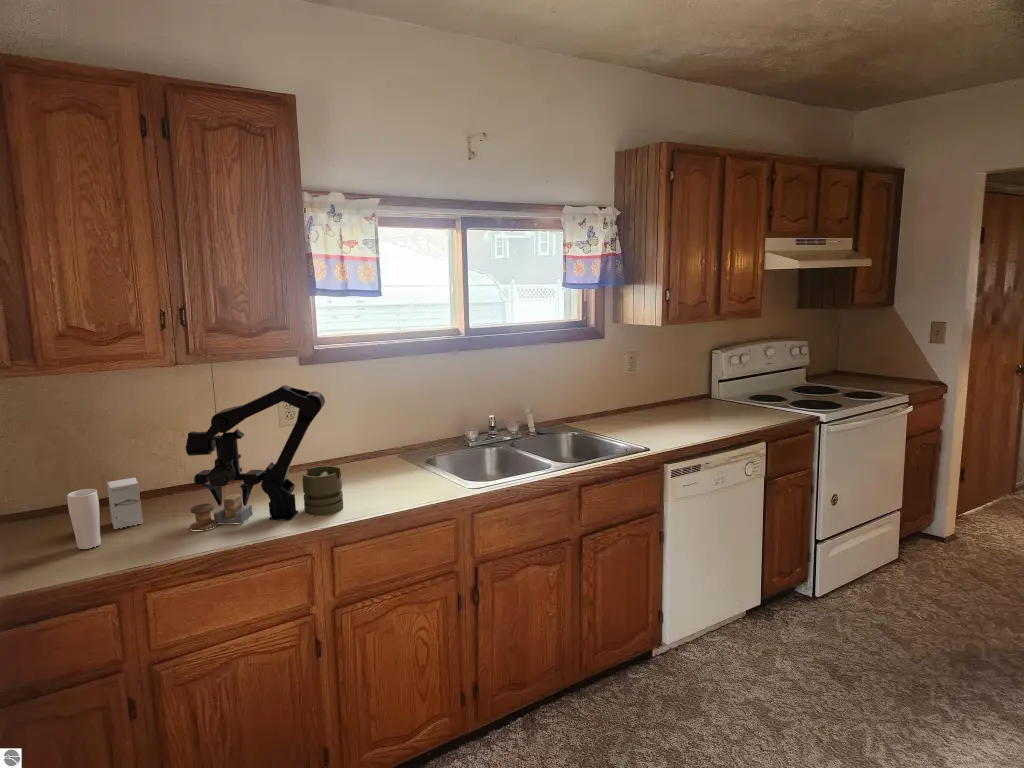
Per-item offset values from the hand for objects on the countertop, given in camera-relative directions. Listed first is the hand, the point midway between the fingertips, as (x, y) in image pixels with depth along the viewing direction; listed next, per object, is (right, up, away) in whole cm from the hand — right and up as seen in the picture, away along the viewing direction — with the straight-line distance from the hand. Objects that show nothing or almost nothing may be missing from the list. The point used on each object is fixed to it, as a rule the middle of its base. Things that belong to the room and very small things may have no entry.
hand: (232, 505), depth 191 cm
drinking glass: (-31, -8, -17) cm, 36 cm away
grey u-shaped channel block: (0, -4, +1) cm, 4 cm away
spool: (-6, -5, -4) cm, 9 cm away
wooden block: (0, -3, +1) cm, 3 cm away
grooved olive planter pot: (+24, -3, +8) cm, 26 cm away
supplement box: (-30, -5, -1) cm, 31 cm away
